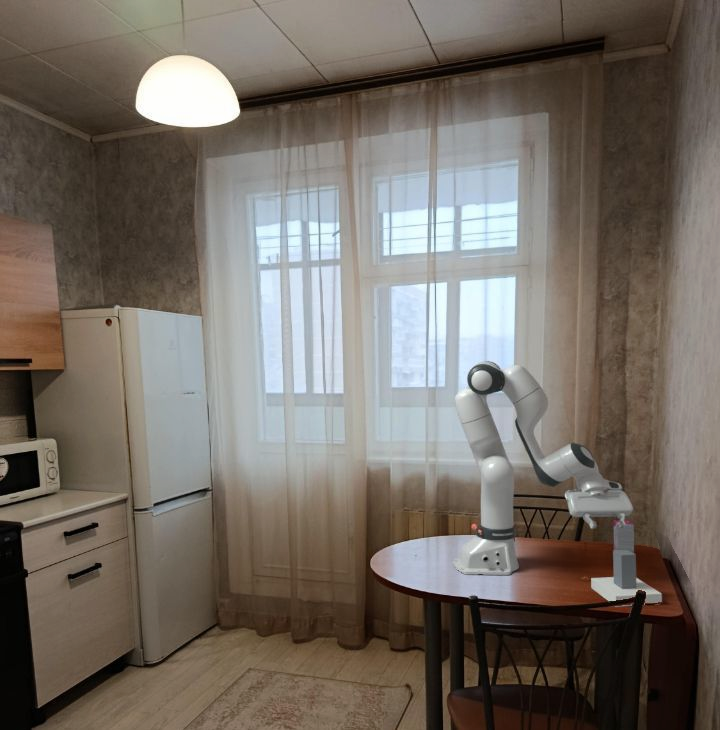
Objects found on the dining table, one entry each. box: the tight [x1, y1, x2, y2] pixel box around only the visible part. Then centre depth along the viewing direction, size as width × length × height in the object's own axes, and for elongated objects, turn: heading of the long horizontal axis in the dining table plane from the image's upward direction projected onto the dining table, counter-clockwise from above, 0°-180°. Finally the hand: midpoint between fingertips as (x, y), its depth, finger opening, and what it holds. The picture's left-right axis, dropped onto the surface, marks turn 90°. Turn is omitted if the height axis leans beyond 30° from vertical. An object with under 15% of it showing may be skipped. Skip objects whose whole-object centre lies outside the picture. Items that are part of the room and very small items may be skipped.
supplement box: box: [613, 519, 635, 554], centre depth 205 cm, size 6×6×12 cm
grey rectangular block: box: [612, 549, 637, 589], centre depth 167 cm, size 4×4×10 cm
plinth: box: [590, 576, 663, 608], centre depth 167 cm, size 14×14×3 cm
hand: (608, 527), depth 175 cm, fingers open, 8 cm apart
